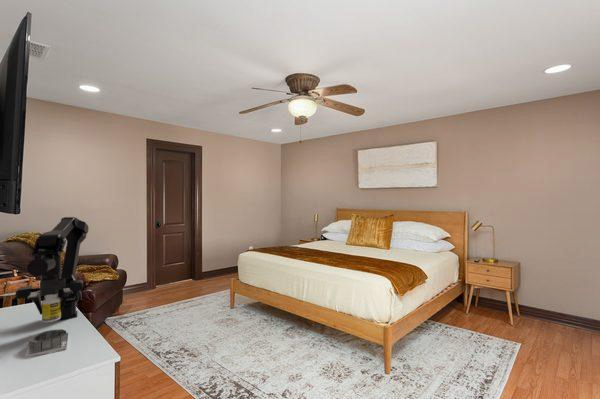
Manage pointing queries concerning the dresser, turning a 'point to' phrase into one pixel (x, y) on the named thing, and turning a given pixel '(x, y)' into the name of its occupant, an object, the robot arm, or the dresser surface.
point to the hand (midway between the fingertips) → (51, 312)
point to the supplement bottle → (51, 308)
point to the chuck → (47, 342)
